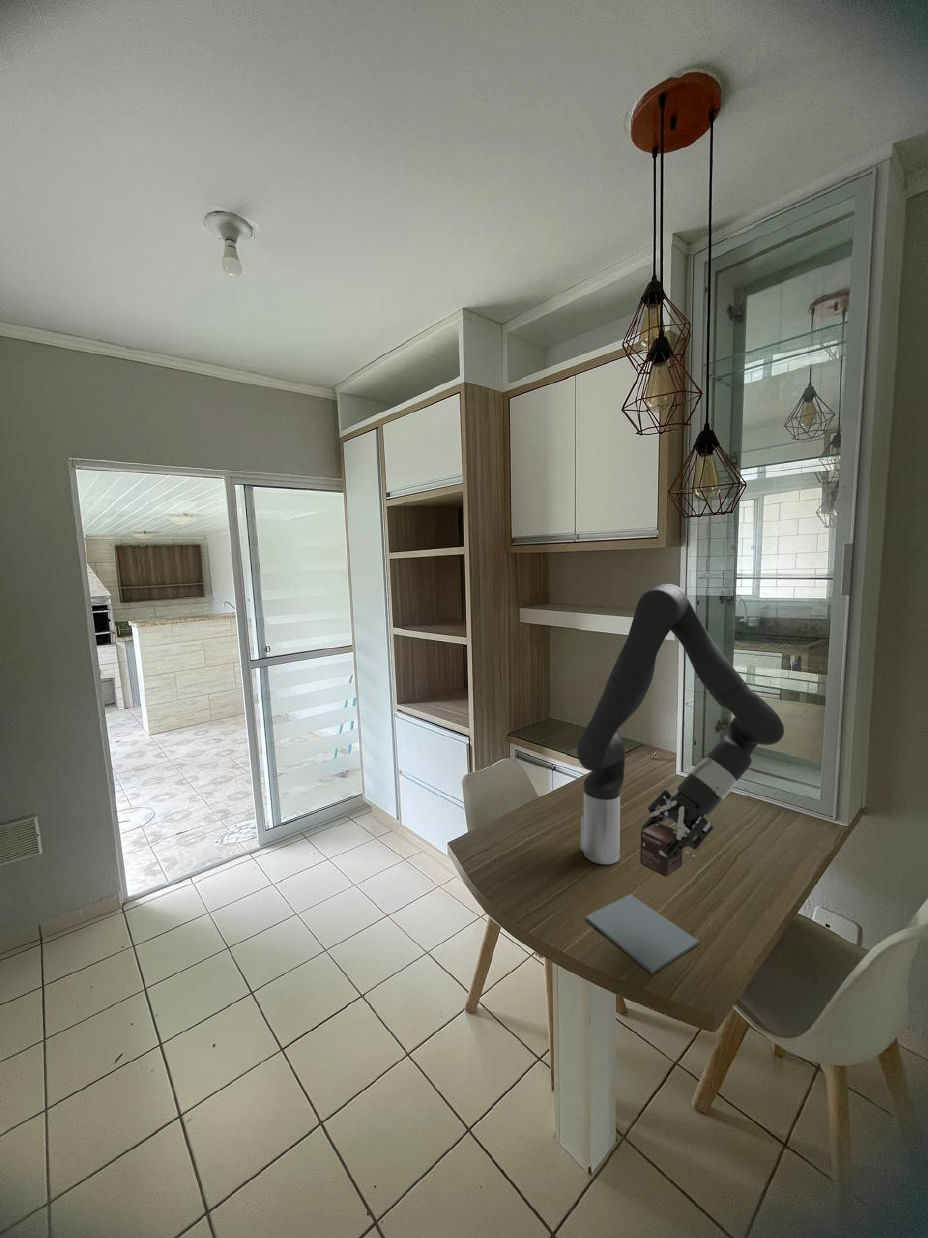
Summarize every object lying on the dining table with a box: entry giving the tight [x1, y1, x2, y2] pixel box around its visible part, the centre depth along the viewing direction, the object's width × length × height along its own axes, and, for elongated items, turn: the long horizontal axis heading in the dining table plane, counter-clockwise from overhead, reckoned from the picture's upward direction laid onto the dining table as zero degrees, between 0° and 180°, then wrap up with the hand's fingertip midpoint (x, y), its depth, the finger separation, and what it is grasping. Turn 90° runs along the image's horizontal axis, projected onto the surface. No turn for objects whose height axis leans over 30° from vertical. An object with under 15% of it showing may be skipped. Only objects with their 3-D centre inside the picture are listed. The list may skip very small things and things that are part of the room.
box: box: [639, 822, 683, 878], centre depth 98 cm, size 6×6×7 cm
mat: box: [585, 893, 700, 974], centre depth 99 cm, size 17×14×1 cm
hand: (655, 844), depth 98 cm, fingers closed on box, 8 cm apart
